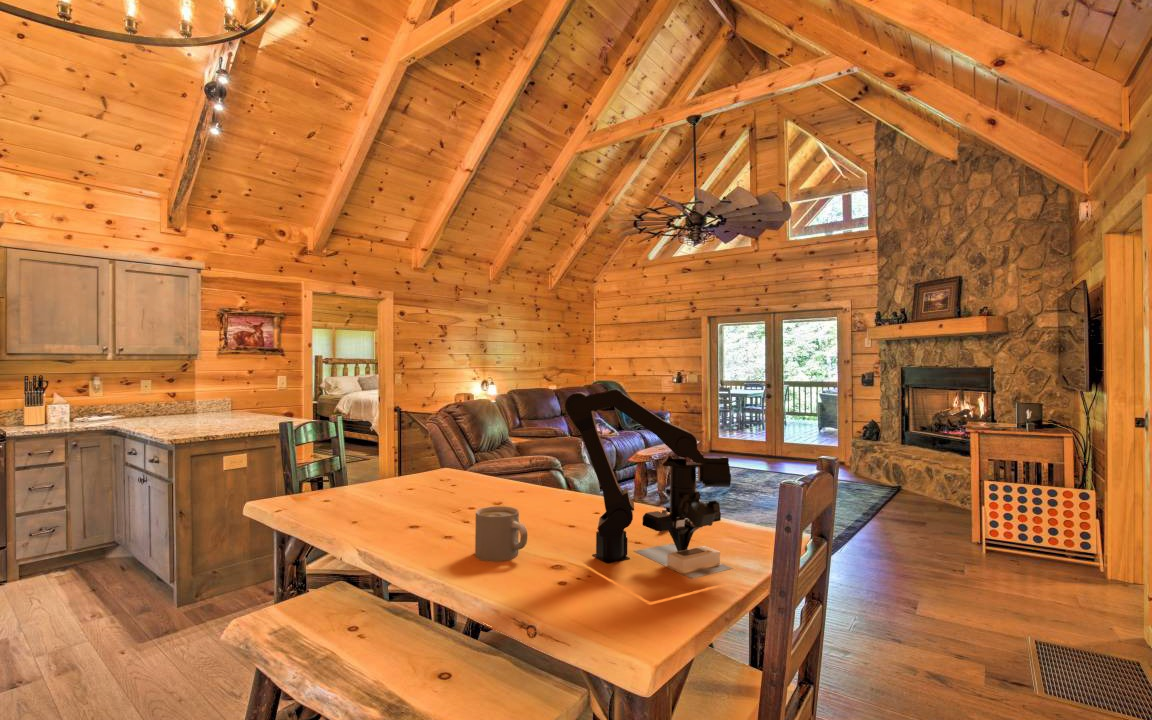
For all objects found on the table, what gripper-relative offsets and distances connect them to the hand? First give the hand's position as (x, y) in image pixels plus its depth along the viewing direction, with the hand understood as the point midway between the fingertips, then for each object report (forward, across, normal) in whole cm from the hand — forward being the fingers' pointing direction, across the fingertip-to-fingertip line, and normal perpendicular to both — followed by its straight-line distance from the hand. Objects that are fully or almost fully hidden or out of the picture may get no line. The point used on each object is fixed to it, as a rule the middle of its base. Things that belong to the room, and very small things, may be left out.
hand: (682, 555), depth 128 cm
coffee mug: (+2, -34, +23) cm, 41 cm away
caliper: (+2, +19, +23) cm, 30 cm away
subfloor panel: (+2, 0, 0) cm, 2 cm away
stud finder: (+1, 0, -4) cm, 4 cm away
